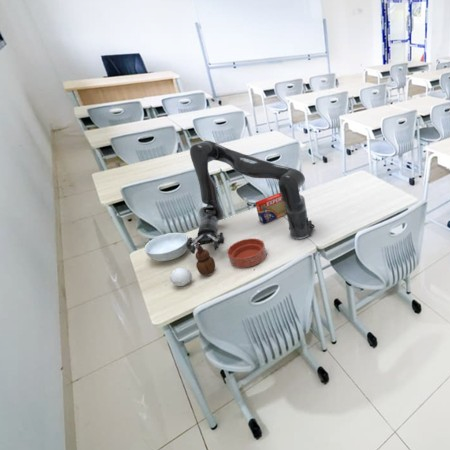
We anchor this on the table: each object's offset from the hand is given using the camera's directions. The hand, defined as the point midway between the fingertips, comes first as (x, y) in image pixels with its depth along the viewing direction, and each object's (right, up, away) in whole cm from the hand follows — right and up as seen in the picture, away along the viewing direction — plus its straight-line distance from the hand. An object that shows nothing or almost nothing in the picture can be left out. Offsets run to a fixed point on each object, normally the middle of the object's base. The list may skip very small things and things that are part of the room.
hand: (204, 250), depth 148 cm
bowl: (+15, -4, +9) cm, 18 cm away
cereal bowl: (-21, -3, +11) cm, 24 cm away
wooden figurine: (+2, -10, +1) cm, 10 cm away
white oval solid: (-6, -14, -6) cm, 16 cm away
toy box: (+17, +15, +40) cm, 46 cm away
